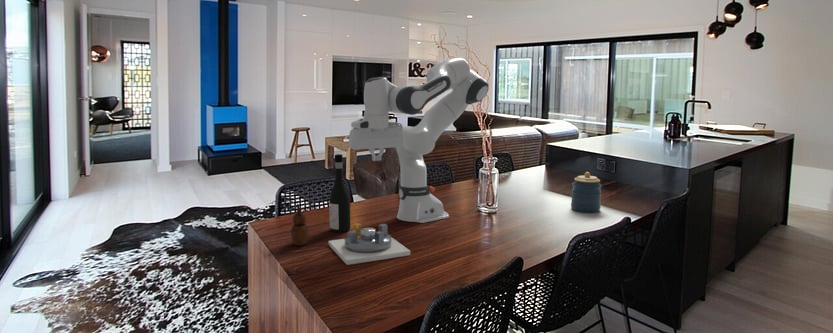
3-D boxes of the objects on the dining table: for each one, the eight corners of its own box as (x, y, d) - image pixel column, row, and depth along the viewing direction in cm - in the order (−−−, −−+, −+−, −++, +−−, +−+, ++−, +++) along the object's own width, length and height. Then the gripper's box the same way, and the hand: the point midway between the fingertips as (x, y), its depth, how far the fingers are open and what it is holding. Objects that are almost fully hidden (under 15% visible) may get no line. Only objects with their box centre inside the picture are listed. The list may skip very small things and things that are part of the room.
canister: (569, 211, 224) (571, 173, 222) (571, 205, 236) (573, 168, 233) (599, 214, 220) (602, 175, 217) (600, 207, 231) (603, 170, 229)
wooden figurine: (293, 241, 180) (292, 201, 178) (309, 241, 181) (308, 201, 178) (290, 247, 173) (288, 205, 171) (307, 247, 174) (305, 205, 172)
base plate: (386, 237, 186) (386, 233, 185) (410, 255, 166) (410, 250, 166) (328, 244, 176) (328, 240, 176) (347, 264, 157) (346, 260, 156)
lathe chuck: (349, 237, 179) (349, 221, 178) (393, 238, 178) (393, 222, 177) (340, 252, 163) (339, 234, 162) (388, 253, 162) (388, 235, 161)
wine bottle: (333, 234, 189) (331, 156, 184) (327, 229, 196) (325, 154, 191) (353, 231, 193) (352, 155, 188) (346, 226, 200) (345, 152, 195)
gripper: (398, 121, 186) (399, 157, 188) (346, 122, 177) (347, 161, 179) (406, 122, 180) (406, 159, 182) (352, 124, 171) (353, 163, 173)
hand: (376, 160), depth 180 cm, fingers closed
